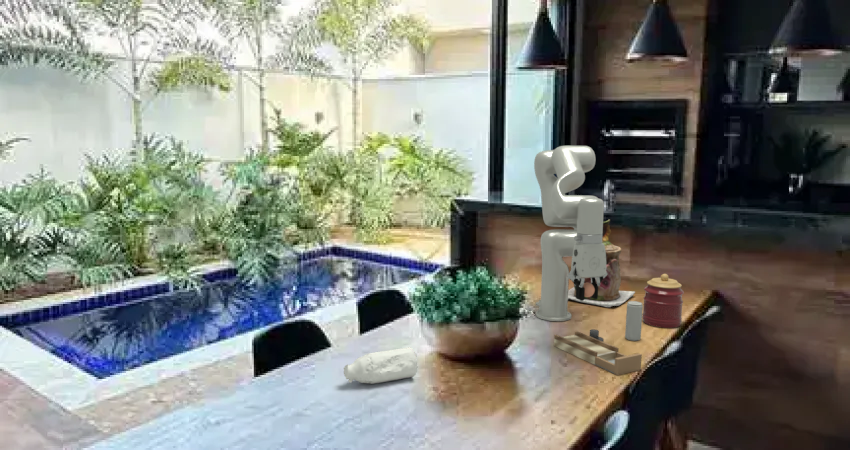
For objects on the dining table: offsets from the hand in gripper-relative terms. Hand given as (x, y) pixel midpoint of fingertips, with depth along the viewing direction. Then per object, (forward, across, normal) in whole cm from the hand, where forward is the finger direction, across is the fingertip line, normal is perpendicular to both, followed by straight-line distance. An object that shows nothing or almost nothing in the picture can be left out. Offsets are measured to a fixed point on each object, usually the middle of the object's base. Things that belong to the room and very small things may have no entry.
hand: (586, 298), depth 196 cm
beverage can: (+16, +21, +2) cm, 27 cm away
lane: (+16, -2, -2) cm, 16 cm away
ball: (0, 0, 0) cm, 0 cm away
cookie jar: (+15, +44, +48) cm, 67 cm away
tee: (+16, +9, +6) cm, 19 cm away
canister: (+16, +43, +12) cm, 47 cm away
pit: (+17, -1, -15) cm, 22 cm away
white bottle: (+17, -66, 0) cm, 68 cm away
